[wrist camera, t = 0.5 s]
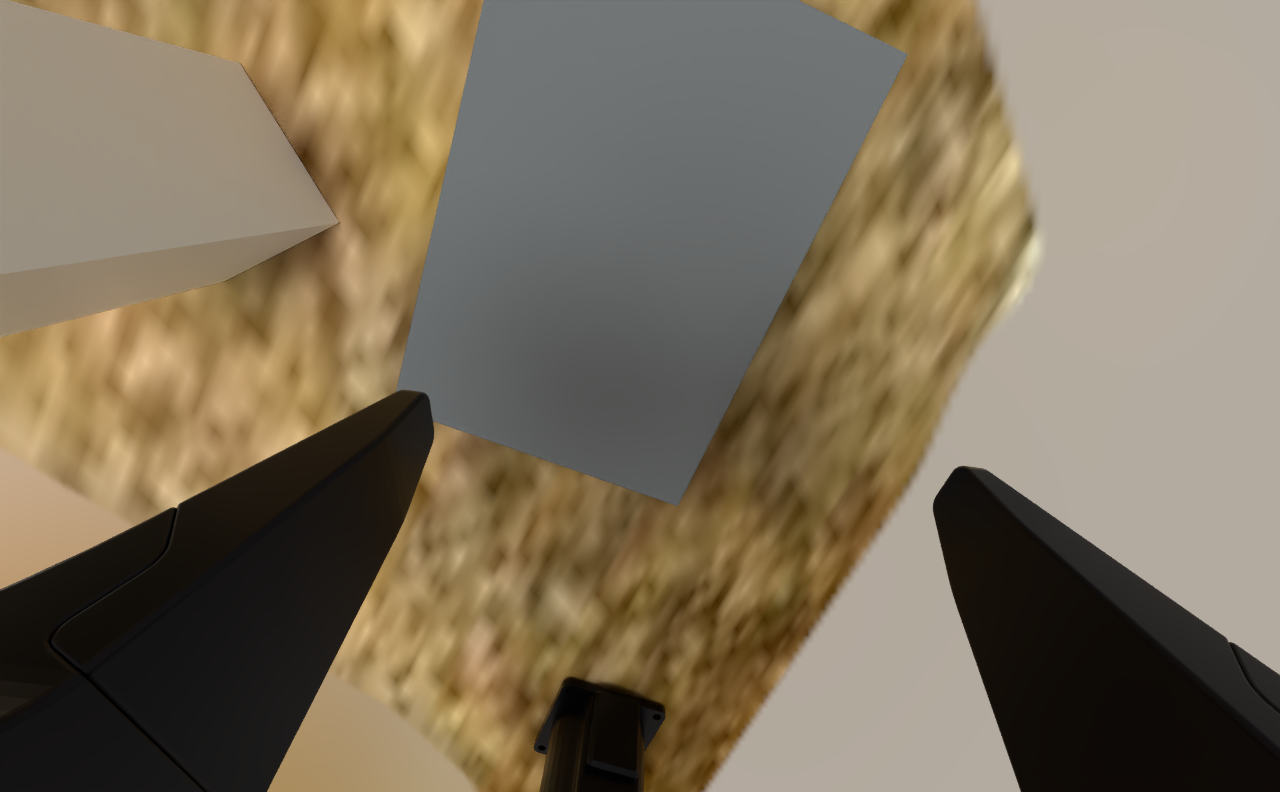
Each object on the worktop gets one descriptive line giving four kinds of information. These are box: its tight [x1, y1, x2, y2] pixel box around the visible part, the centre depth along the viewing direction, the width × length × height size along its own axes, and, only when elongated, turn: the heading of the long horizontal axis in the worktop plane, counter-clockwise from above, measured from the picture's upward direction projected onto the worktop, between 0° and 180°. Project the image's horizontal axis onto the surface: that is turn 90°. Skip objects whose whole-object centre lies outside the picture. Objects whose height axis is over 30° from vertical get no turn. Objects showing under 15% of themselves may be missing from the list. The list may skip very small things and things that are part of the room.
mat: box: [396, 0, 908, 506], centre depth 21 cm, size 20×14×1 cm
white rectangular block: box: [0, 0, 339, 337], centre depth 15 cm, size 6×6×12 cm
